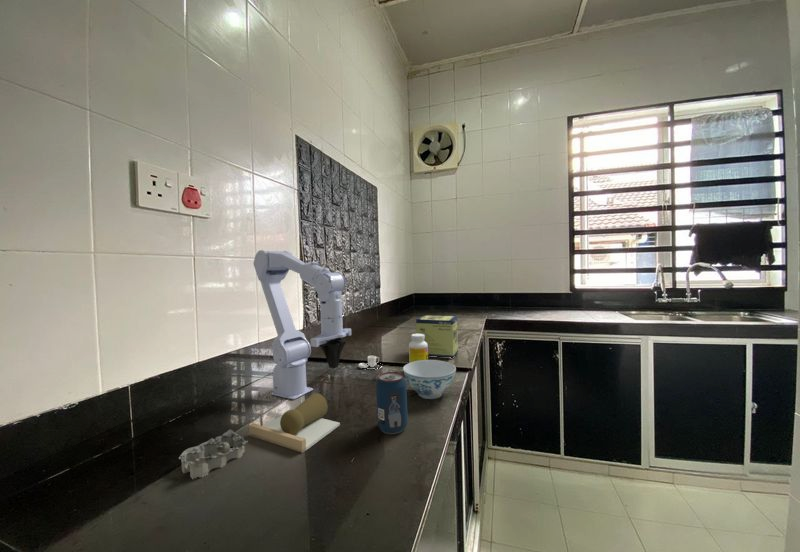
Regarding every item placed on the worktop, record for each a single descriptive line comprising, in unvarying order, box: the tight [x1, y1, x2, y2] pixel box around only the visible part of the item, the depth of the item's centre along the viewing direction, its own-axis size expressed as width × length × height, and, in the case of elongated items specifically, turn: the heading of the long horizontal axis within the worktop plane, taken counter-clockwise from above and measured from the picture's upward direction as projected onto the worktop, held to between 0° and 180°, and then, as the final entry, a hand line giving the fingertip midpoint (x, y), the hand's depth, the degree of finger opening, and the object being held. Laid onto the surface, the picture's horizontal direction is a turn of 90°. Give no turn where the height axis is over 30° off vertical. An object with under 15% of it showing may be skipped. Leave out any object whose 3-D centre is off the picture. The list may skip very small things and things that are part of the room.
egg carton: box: [178, 428, 249, 480], centre depth 61 cm, size 10×7×4 cm
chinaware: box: [402, 359, 457, 400], centre depth 89 cm, size 15×15×8 cm
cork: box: [280, 392, 329, 435], centre depth 73 cm, size 6×6×11 cm
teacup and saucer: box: [357, 355, 383, 370], centre depth 117 cm, size 9×8×4 cm
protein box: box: [415, 315, 459, 358], centre depth 130 cm, size 10×16×16 cm
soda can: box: [375, 371, 408, 435], centre depth 71 cm, size 7×7×12 cm
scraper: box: [248, 414, 341, 454], centre depth 72 cm, size 16×12×2 cm
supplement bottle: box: [408, 333, 429, 363], centre depth 110 cm, size 7×7×13 cm
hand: (333, 367), depth 84 cm, fingers closed
